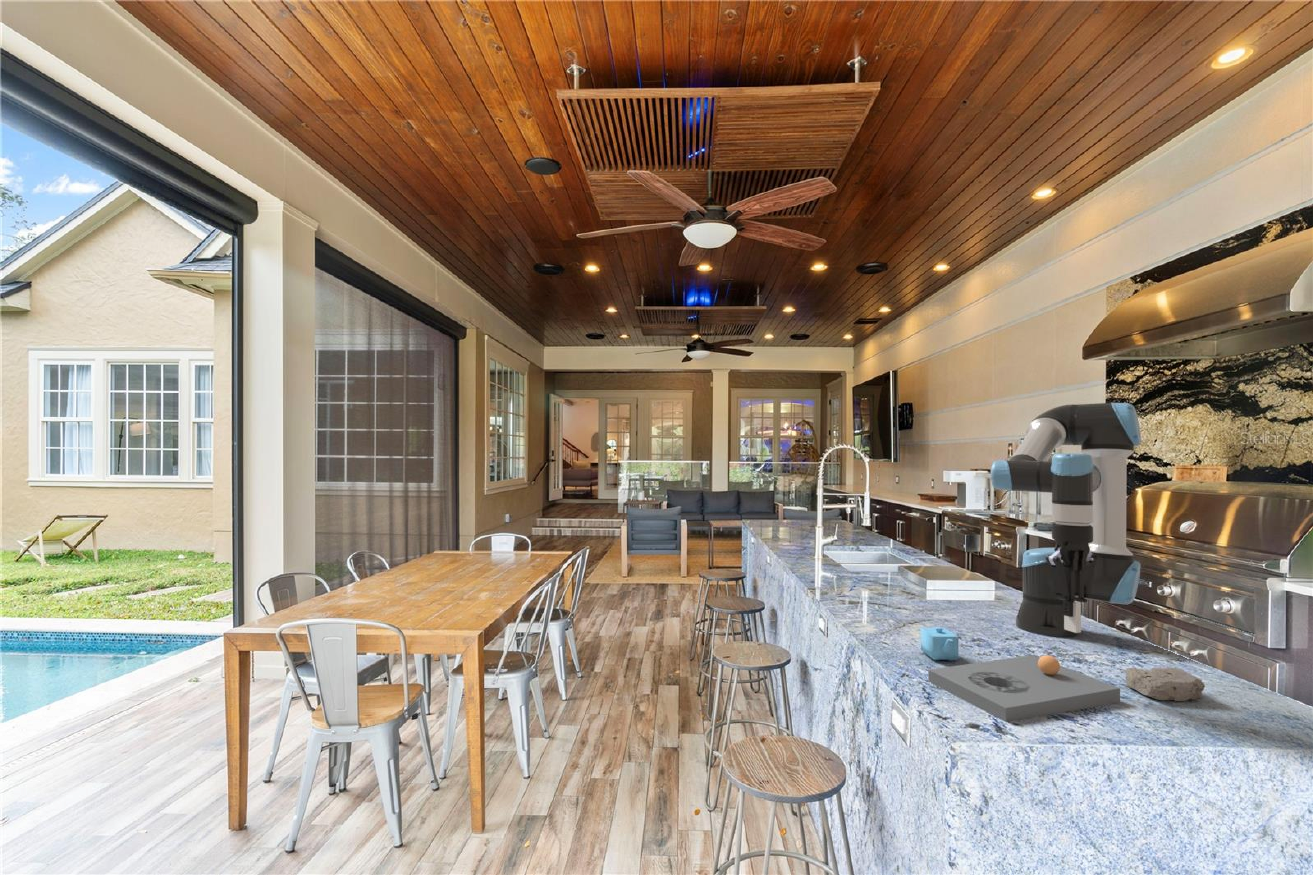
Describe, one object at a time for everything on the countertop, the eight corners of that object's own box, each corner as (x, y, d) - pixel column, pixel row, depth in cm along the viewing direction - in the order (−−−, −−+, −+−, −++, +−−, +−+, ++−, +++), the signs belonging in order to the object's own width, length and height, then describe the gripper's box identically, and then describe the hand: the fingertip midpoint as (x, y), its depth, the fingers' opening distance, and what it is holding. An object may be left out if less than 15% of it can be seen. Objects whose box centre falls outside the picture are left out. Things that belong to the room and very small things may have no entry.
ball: (1047, 669, 133) (1047, 651, 133) (1064, 676, 129) (1064, 657, 129) (1033, 671, 131) (1033, 653, 131) (1050, 678, 127) (1050, 659, 128)
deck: (1032, 667, 142) (1032, 655, 142) (1120, 703, 123) (1120, 688, 123) (928, 683, 133) (928, 669, 133) (1005, 724, 114) (1005, 708, 114)
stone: (1114, 684, 131) (1160, 706, 121) (1117, 658, 131) (1164, 678, 121) (1164, 685, 133) (1213, 708, 123) (1167, 660, 133) (1217, 680, 123)
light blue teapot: (965, 668, 141) (965, 636, 141) (939, 668, 141) (939, 636, 142) (942, 651, 153) (942, 621, 153) (918, 650, 153) (918, 621, 154)
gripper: (1077, 520, 138) (1078, 623, 137) (1034, 522, 134) (1034, 628, 134) (1111, 524, 131) (1111, 633, 130) (1066, 526, 127) (1066, 638, 126)
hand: (1072, 630), depth 132 cm, fingers closed
